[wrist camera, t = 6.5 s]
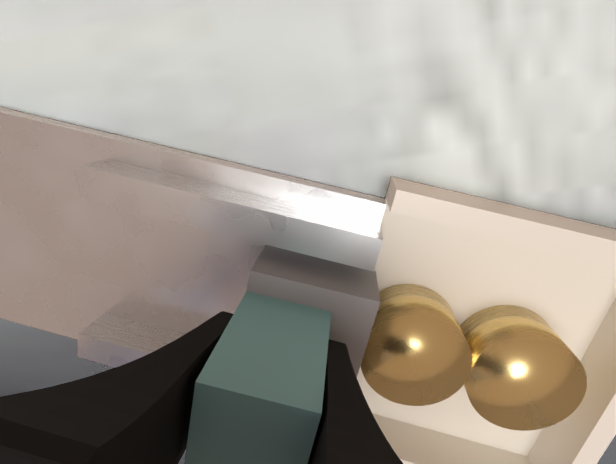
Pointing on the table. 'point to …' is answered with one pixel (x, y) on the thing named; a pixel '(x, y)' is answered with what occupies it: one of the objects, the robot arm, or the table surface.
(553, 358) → the gold round piece
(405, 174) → the table surface
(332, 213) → the slotted rail
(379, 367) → the gold knob
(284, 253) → the teal and gray box
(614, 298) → the tray
